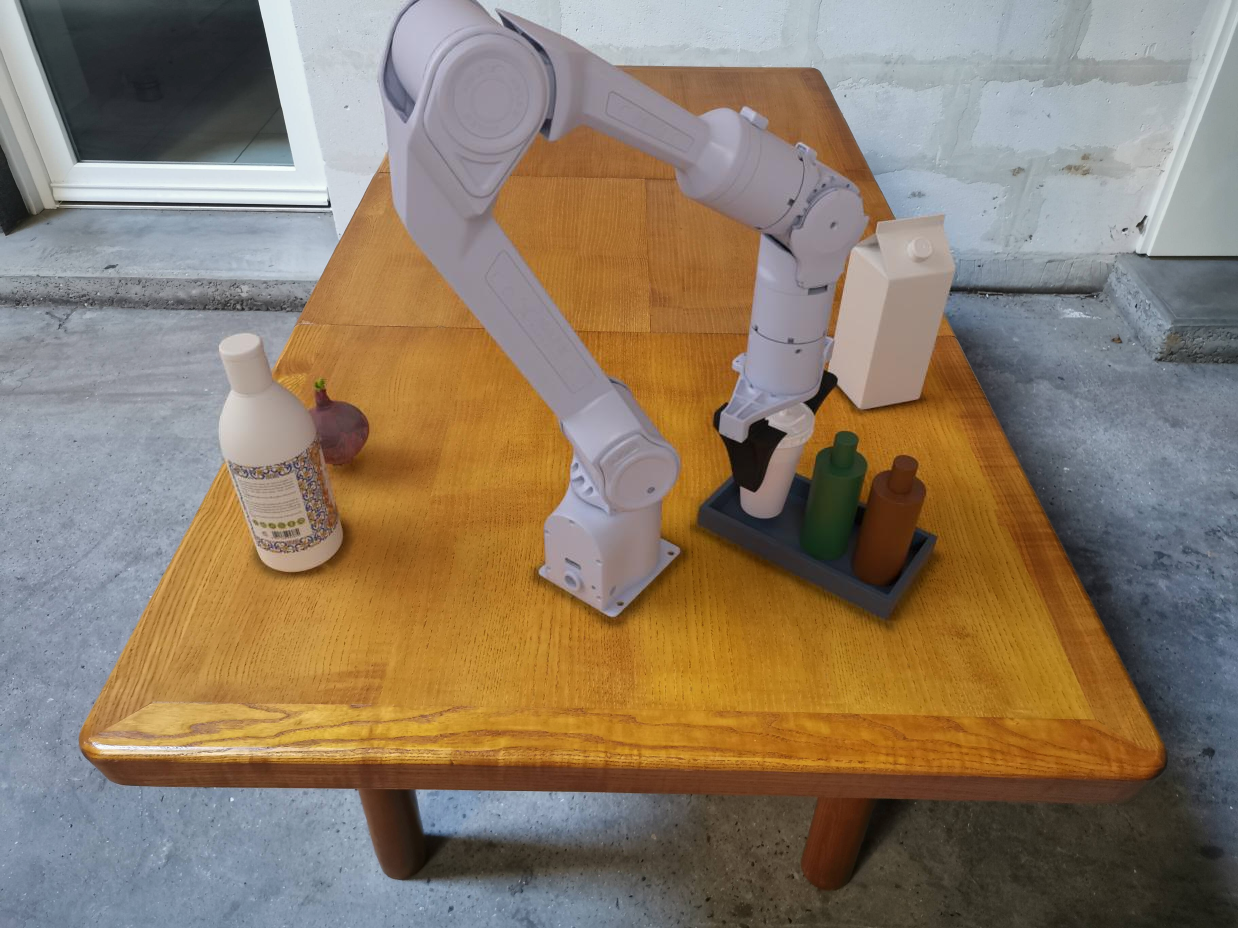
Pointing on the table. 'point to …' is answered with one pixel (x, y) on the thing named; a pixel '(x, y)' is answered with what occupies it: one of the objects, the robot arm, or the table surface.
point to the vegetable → (338, 427)
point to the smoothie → (781, 462)
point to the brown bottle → (889, 523)
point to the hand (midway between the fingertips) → (767, 465)
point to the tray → (783, 548)
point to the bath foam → (276, 463)
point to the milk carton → (892, 311)
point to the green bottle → (833, 498)
